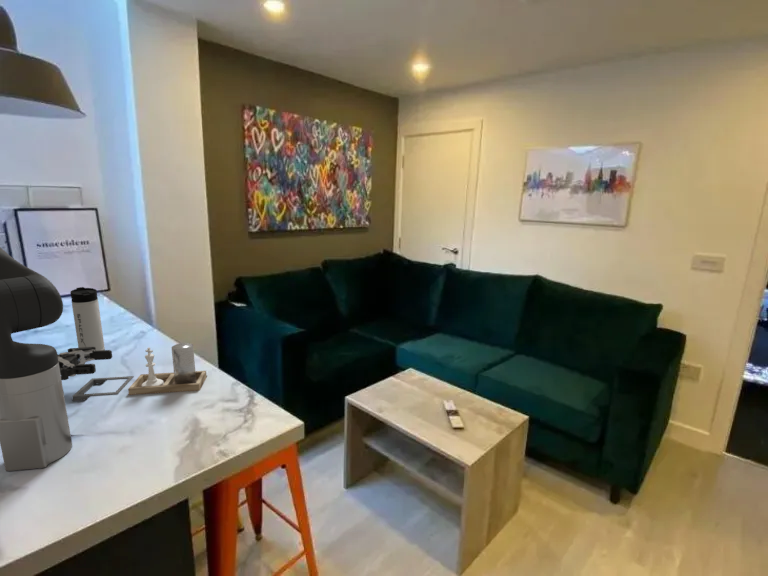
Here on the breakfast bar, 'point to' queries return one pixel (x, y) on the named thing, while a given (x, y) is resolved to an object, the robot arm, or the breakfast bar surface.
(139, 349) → the breakfast bar surface
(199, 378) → the wooden divided tray
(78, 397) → the frame
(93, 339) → the travel mug
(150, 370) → the chess piece
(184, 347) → the steel peg
